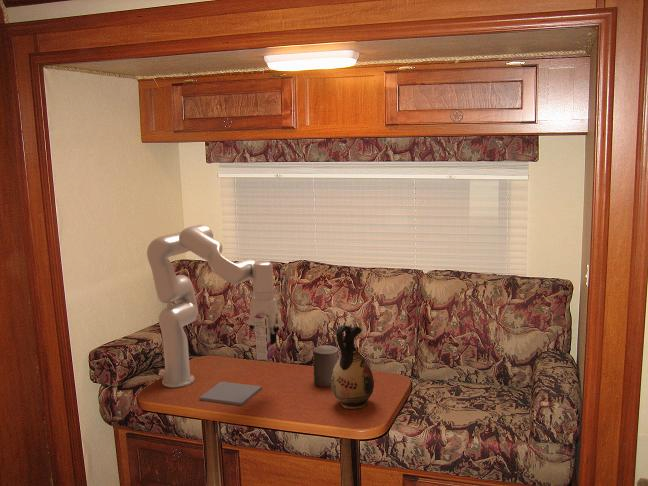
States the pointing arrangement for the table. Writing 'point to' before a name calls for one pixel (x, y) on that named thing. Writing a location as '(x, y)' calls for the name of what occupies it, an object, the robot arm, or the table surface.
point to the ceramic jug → (351, 372)
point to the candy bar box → (263, 338)
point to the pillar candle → (324, 364)
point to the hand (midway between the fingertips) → (265, 342)
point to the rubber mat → (230, 393)
